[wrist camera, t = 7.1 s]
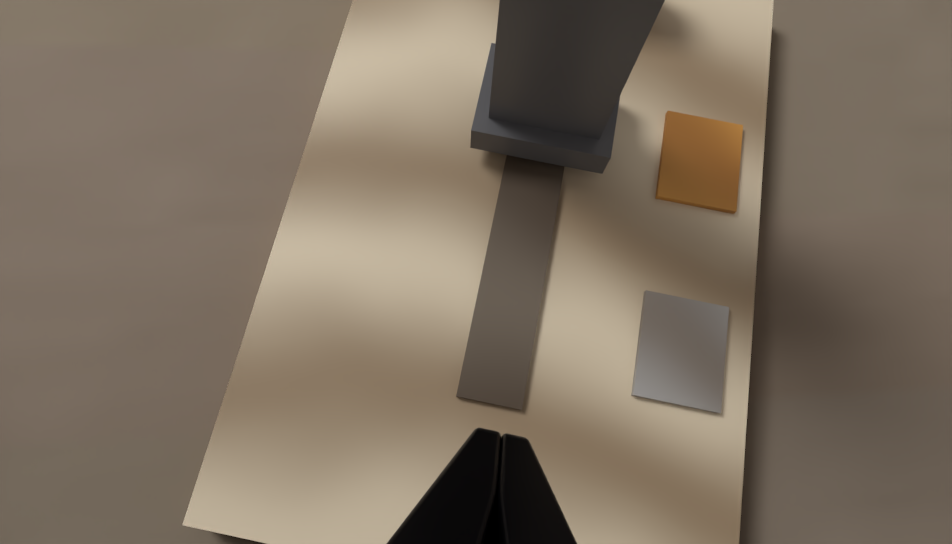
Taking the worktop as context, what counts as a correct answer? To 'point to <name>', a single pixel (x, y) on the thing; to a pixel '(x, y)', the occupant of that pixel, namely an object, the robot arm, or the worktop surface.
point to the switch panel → (504, 292)
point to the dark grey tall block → (559, 78)
